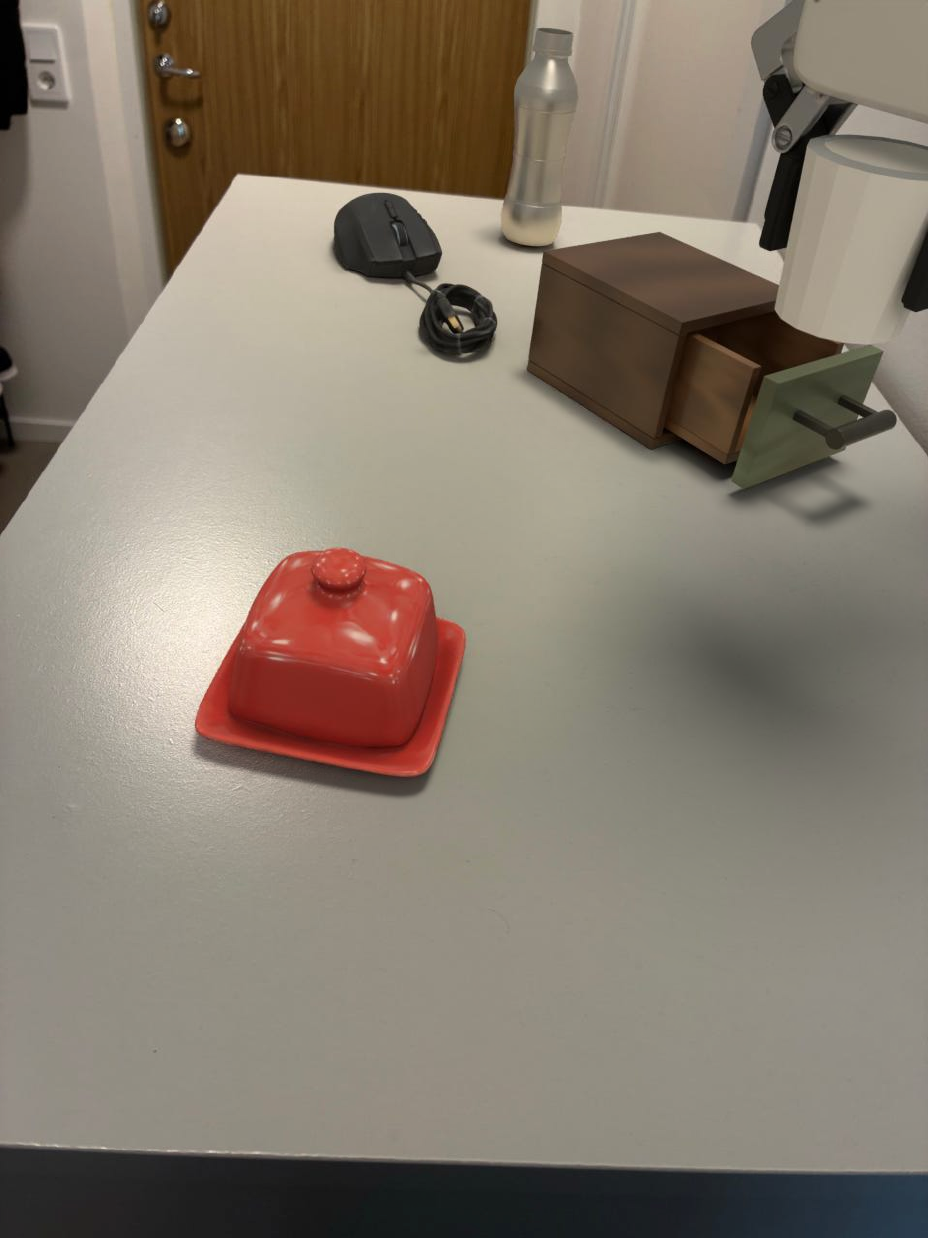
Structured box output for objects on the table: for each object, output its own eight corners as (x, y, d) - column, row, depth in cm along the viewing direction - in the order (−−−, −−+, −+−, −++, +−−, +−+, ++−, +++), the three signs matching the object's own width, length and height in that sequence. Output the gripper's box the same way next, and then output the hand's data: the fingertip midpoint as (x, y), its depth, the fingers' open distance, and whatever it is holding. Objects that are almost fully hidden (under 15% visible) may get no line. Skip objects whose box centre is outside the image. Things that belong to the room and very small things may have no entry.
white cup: (945, 333, 43) (1014, 168, 38) (850, 362, 40) (914, 186, 35) (824, 280, 47) (875, 126, 43) (729, 302, 44) (773, 137, 39)
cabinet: (762, 413, 77) (800, 294, 71) (650, 449, 71) (682, 322, 64) (635, 342, 86) (659, 231, 79) (526, 369, 79) (543, 250, 73)
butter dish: (427, 801, 43) (441, 663, 38) (184, 753, 44) (163, 611, 39) (470, 640, 52) (486, 510, 47) (267, 603, 53) (259, 471, 47)
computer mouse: (398, 230, 103) (400, 176, 100) (530, 355, 81) (539, 292, 78) (313, 234, 100) (313, 179, 96) (428, 366, 78) (432, 300, 74)
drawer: (892, 476, 69) (937, 375, 64) (791, 519, 63) (832, 411, 58) (711, 376, 79) (736, 282, 74) (609, 405, 73) (630, 305, 68)
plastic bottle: (532, 257, 100) (562, 39, 88) (485, 239, 104) (506, 26, 91) (569, 246, 104) (602, 35, 92) (522, 228, 108) (548, 23, 95)
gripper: (1388, -257, 27) (1082, 331, 39) (878, -264, 38) (754, 205, 49) (1293, -294, 24) (985, 369, 35) (756, -291, 34) (653, 223, 45)
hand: (852, 270), depth 42 cm, fingers closed on white cup, 6 cm apart
